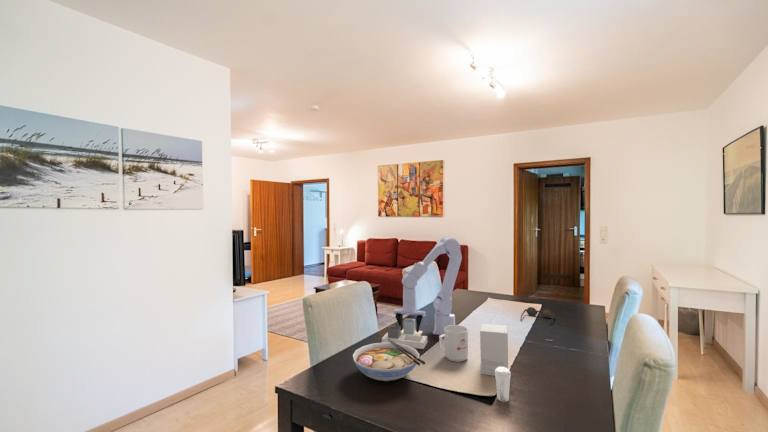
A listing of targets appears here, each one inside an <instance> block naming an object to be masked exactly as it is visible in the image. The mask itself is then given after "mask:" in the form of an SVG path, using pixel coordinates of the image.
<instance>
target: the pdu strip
mask: <svg viewBox="0 0 768 432" xmlns="http://www.w3.org/2000/svg"><path fill="white" fill-rule="evenodd" d="M387 339H388V340H389V339H390V340H391V342H392V341H393V342H394V343H399V344H404V345H408V346H410V347H412V348H414V349H421V350H425V347H426V345H427V343H428V335H410V334H401V326H399V324H398V325H397V324H390V325H389V326H388V327H387V332H386V333H385V334H384V335H383V336H382V337H381V343H384V342H387V343H391V342H390V340H389V341H388V340H387ZM393 342H392V343H393Z"/></svg>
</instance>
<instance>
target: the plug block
mask: <svg viewBox="0 0 768 432" xmlns="http://www.w3.org/2000/svg"><path fill="white" fill-rule="evenodd" d="M403 329H404V334H410V335H414V334H415V330H416V318H415V319H414V318H404V319H403Z"/></svg>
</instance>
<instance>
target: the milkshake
mask: <svg viewBox="0 0 768 432" xmlns="http://www.w3.org/2000/svg"><path fill="white" fill-rule="evenodd" d="M493 368H494V367H493ZM494 371H495V376H494V379H495V390H496V397H497V400H498V401H499V402H502V403H505V402H506V403H507V402H508V401H509V400H510V399H509V398H510V389H511V388H510V386H511V385H510V384H511V375H512V372H511V371H510V369H509V368H508V369H507V368H505V367H501V366H499V367H497V368H496V369H495V370H494Z"/></svg>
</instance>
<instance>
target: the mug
mask: <svg viewBox="0 0 768 432" xmlns="http://www.w3.org/2000/svg"><path fill="white" fill-rule="evenodd" d="M443 337H444V340H443ZM438 339H439V342H438V343H439V350H440V352H441V353H443V354H444V356H445V358H446V359H447V360H449V361H450V362H455V363H458V362H464V361H466V360H467V359H468V357H469V329H468V327H466V326H463V325H460V324H459V325H458V324H455V325H449V326H446V327H445V328H444V334H442V335H438ZM443 341H444V344H443ZM443 345H444V346H443ZM443 347H444V348H443ZM443 349H444V350H443Z"/></svg>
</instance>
